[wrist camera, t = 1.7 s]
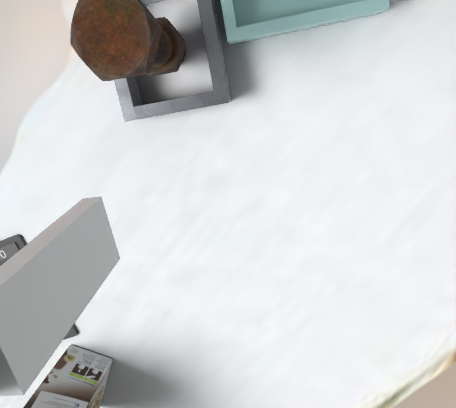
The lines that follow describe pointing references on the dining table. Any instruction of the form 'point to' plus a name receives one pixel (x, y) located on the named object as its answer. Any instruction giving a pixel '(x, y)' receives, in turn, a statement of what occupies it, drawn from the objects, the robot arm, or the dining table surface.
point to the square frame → (221, 94)
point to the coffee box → (74, 381)
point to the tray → (290, 15)
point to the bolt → (124, 39)
